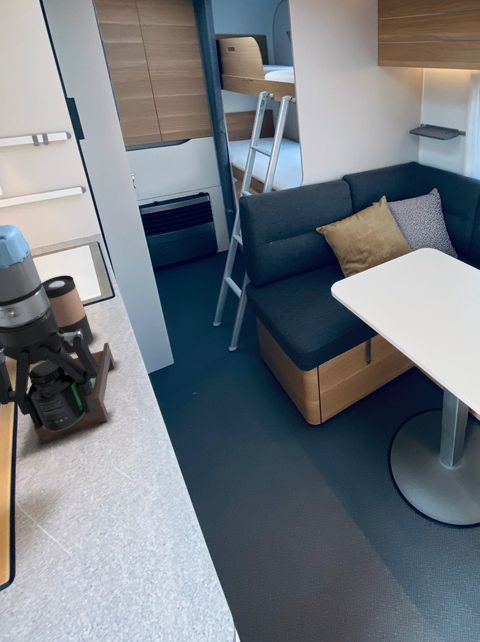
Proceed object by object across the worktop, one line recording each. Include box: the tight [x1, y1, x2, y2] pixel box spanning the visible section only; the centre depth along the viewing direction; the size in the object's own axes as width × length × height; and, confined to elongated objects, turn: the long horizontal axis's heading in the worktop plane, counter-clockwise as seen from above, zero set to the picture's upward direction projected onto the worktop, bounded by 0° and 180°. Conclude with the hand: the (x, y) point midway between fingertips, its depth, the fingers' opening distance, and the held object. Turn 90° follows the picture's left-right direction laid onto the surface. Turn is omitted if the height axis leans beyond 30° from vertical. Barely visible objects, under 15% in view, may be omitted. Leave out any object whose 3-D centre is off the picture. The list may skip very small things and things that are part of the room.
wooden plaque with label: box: [33, 342, 116, 444], centre depth 95 cm, size 12×20×7 cm, turn 26°
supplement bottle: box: [28, 360, 85, 431], centre depth 75 cm, size 7×7×12 cm
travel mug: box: [41, 274, 94, 353], centre depth 111 cm, size 8×8×20 cm
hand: (65, 414), depth 77 cm, fingers closed on supplement bottle, 7 cm apart
